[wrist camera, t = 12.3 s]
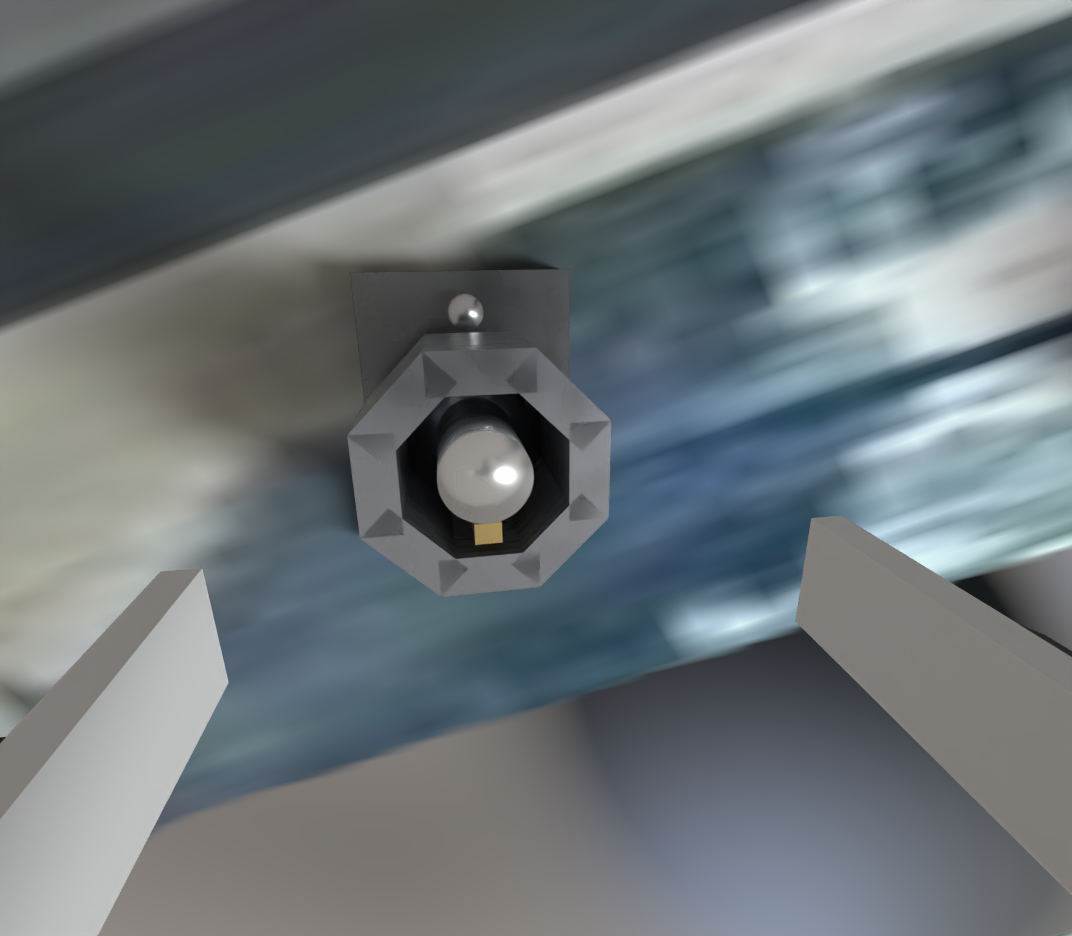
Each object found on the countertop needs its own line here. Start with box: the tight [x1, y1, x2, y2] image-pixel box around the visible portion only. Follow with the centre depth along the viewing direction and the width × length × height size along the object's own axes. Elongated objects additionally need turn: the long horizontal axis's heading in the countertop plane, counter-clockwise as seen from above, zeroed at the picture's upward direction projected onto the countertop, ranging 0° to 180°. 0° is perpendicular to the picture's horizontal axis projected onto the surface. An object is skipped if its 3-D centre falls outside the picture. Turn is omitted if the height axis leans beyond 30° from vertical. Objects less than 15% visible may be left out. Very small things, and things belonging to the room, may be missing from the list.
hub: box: [347, 331, 611, 597], centre depth 23 cm, size 9×9×6 cm
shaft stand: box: [350, 269, 569, 545], centre depth 25 cm, size 14×10×11 cm
